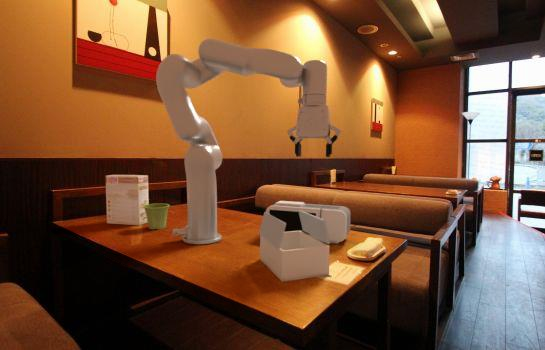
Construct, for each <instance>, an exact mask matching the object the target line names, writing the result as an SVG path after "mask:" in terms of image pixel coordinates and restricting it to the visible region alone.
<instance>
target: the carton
mask: <svg viewBox="0 0 545 350" xmlns="http://www.w3.org/2000/svg"><path fill="white" fill-rule="evenodd" d="M259 235H260V234H259ZM259 256H260V257H259V260H260V261H261V262H262V263H263V264H264V265H265V266H266V267H267V268H268V269H269V270H270V271H271V272H272V273H273V274H274V275H275V276H276V277H277V278H278V279H279V280H280V282H281V283H283V282H290V281H297V280H304V279H311V278H312V279H313V278H320V277H325V276H330V245H329V244H327V243H325V242H321V241H319V240H317V239H315V238H313V237H312V236H310V235H308V234H306V233H304V232H302V231H289V232H284V235H283V239H282V242H281V246H280V249H277V248H276V247H275V246H274V245H272V244H271V243H270V242H269V241H267V240H266V239H265V238H263V237H262V236H261V235H260V237H259Z"/></svg>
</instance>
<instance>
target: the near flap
mask: <svg viewBox="0 0 545 350" xmlns="http://www.w3.org/2000/svg"><path fill="white" fill-rule="evenodd" d="M263 212H264V213H263V215H262V221H261V223H260V228H259V232H258V235H261V236H262V237H263V238H265V239H266V240H267V241H269V242H270V243H271V244H272V245H274V246H275V247H276V248H277V249H280V246H281V242H282V239H283V235H284V231H285V227H286V223H285V222H283V221H281V220H279V219H277V218H276V217H274V216H272V215H270V214H268V213H266V211H263Z"/></svg>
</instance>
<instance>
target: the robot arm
mask: <svg viewBox="0 0 545 350" xmlns="http://www.w3.org/2000/svg"><path fill="white" fill-rule="evenodd" d="M197 51H198V57H199V58H196V59H195V60H193V61H191V60H190V59H188V58H187V57H186V56H184V55H181V54H178V53H172V54H169V55H167V56H165V57H164V58H163V59H162V60H161V62H160V64H159V65H158V68H157V70H156V76H155V79H156V86H157V87H156V88H157V91H158V93H159V96H160V99H161V101H162V103H163V106H164V108H165V110H166V113H167V115H168V118H169V120H170V122H171V125H172V128H173V129H174V131H175V134H176V136H177V138H178V139H180V140H181V141H182V142H184V143H185V142H186V143H188V144H189V148H188V150H187V151H186V153H185V154H184V169H185V170H184V171H185V177H186V194H187V195H186V196H187V197H186V198H187V201H186V202H187V208H186V211H187V215H186V216H187V224H186V225H185V227H182V228H173V229H172V236H178V237H179V236H182V241H183V242H184V243H185V244H186V243H187V244H189V245H208V244H214V243H217V242H219V241H221V240H222V236H223V235H222V234H221V233H219V232H218V204H217V203H218V202H217V201H218V196H217V195H218V192H217V191H218V190H217V189H218V186H217V176H216V170H217V169H219V168H220V166H221V165H222V162H223V153H222V150H221V148H220V146H219V142H218V141H217V138H216V136H215V134H214V132H213V131H214V130H213V129H212V126H211V125H210V124H209V122H208V121H207V120H206V119H205V118H204V117H202V116H200V115H199V114H198V113H197V110H196V108H195V107H194V105H193V102H192V99H191V97H190V95H189V93H188V91H187V90H186V89H189V90H191V89H195V88H198V87H199V86H201V85H204V84H206V83H207V82H210V81H212V80H213V79H215V78H216V77H218V76H220V75H221V74H223V73H224V72H228V73H229V72H230V73H233V74H236V75H239V76H243V77H247V76H250V75H253V74H256V75H258V74H259V75H265V76H270V77H273V78H277V79H279V80H278V81H279V82H280V83H281V85H282V86H284V87H285V88H293V89H294V88H299V87H302V91H301V93H302V94H301V95H302V96H301V97H300V98H298V99H297V103H298V104H301V105H300V106H299V108H298V112H297V119H296V125H294V126H293V127H291V128H290V129H288V130H287V131H286V132H287V135H288V136H289V139H290V140H291V141H292V143H293V144H294V154H295V157H297V158H299V157H302V144H301V143H302V141H303V140H304V139H324V140H325V141H326V142H327V143H326V144H325V157H326V158H331V155H332V154H333V144H334V143H335V142H336V141H337V140H338V138H339V137H340V135H341V134H342V130H341V128H338V127H336V126H334V125H332V124H331V119H330V117H331V116H330V108H329V105H327V90H328V89H327V88H328V87H327V85H328V83H327V82H328V81H327V80H328V65H327V63H326V62H325V61H324V60H320V59H313V60H312V59H310V60H307V61H305V62H304V63H303V64H302V62H301V60H300V59H299V58H298V57H297V56H296V55H292V54H290V53H287V52H283V51H279V50H275V49H270V48H259V47H258V48H256V47H255V48H254V47H252V48H251V47H246V46H242V45H239V44H235V43H231V42H227V41H223V40H221V39H220V40H219V39H215V38H206V39H203V40H202V41H201V42H200V45H199V46H198V50H197ZM331 131H334V134H333V136H332V137H330V136H331ZM295 132H296V134H295V135H296V136H295V135H294V133H295Z"/></svg>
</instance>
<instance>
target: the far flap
mask: <svg viewBox="0 0 545 350" xmlns="http://www.w3.org/2000/svg"><path fill="white" fill-rule="evenodd" d="M298 212H299V216H300V220H301V225H302V229H303V231H305V232H307V233H309V234H310V235H312V236H314V237H316V238H318V239H320V240H322V241H324V242H323V243H325V244H326V245H329V244H331V243H330V240H329V236H328V232H327V227H326V223H325V220H324V219H321V218H319V217H316V216H314V215H311V214H309V213H306V212H304V211H301V210H298Z"/></svg>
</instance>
